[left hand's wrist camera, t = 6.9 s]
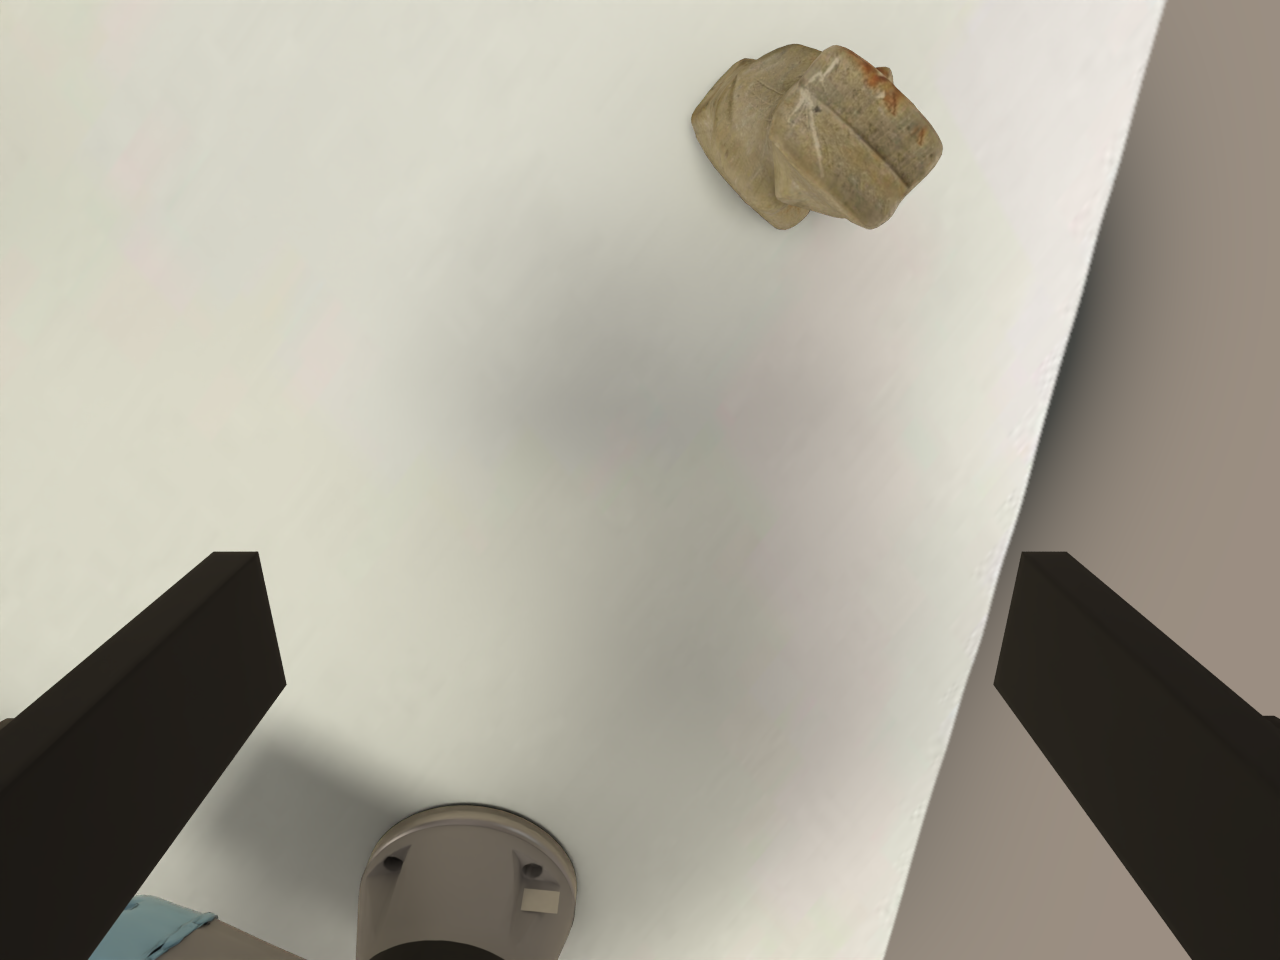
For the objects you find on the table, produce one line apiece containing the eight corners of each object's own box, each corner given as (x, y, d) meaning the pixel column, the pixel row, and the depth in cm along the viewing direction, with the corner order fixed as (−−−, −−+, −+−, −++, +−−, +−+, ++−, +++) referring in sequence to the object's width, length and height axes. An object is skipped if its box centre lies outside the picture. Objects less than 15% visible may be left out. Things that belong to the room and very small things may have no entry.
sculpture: (766, 249, 37) (843, 283, 23) (666, 141, 35) (682, 106, 21) (855, 159, 35) (995, 136, 21) (754, 41, 34) (835, -68, 20)
